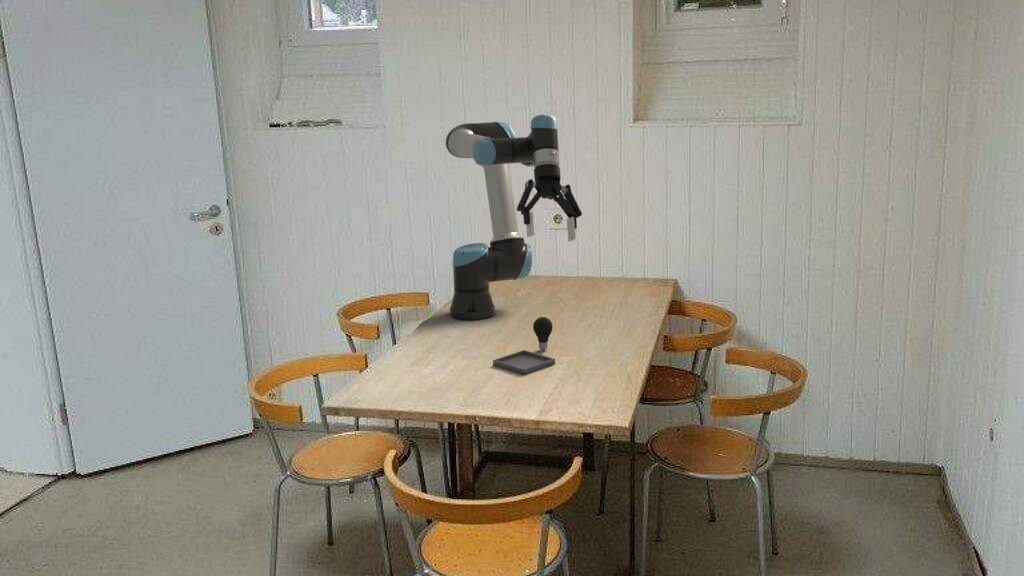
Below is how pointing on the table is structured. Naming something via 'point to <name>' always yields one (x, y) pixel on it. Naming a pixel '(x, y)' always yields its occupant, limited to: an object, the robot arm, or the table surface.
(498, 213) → the robot arm
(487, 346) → the table surface
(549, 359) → the tray
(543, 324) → the light bulb
